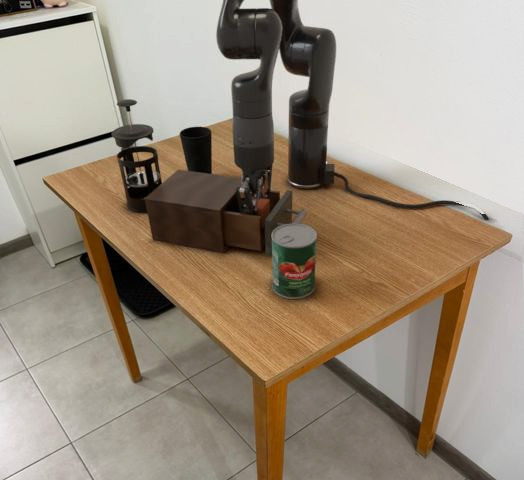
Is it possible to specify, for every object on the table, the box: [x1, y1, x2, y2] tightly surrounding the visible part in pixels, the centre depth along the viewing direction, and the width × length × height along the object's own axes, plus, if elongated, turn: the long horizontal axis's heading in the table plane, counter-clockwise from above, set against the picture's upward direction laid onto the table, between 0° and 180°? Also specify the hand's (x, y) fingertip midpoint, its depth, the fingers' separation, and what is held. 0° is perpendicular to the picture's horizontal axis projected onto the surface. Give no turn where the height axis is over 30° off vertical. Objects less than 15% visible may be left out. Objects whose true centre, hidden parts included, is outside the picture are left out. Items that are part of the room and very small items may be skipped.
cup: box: [179, 126, 213, 174], centre depth 125 cm, size 8×8×12 cm
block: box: [242, 198, 270, 229], centre depth 103 cm, size 4×4×4 cm
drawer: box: [222, 189, 308, 257], centre depth 104 cm, size 20×13×8 cm
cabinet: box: [144, 169, 242, 254], centre depth 107 cm, size 17×15×10 cm
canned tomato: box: [271, 223, 318, 300], centre depth 90 cm, size 8×8×11 cm
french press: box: [111, 98, 163, 214], centre depth 113 cm, size 12×9×23 cm
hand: (256, 221), depth 104 cm, fingers closed on block, 4 cm apart
